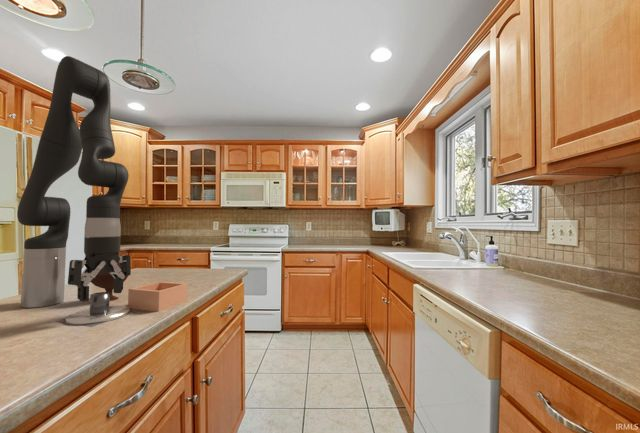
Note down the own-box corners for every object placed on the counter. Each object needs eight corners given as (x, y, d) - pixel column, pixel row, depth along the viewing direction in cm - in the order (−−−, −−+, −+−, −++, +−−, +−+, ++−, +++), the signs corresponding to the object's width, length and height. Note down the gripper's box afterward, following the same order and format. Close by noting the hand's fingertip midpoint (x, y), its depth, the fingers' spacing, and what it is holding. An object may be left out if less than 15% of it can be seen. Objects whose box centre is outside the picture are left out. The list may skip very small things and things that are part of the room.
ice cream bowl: (137, 297, 93) (138, 252, 93) (108, 306, 81) (110, 256, 82) (108, 296, 94) (110, 252, 94) (76, 305, 83) (78, 256, 83)
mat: (55, 323, 67) (55, 321, 67) (105, 309, 79) (105, 307, 79) (91, 329, 64) (92, 326, 64) (138, 313, 76) (138, 311, 76)
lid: (52, 322, 67) (53, 298, 67) (106, 306, 79) (106, 286, 80) (91, 327, 63) (92, 302, 64) (141, 310, 76) (141, 289, 76)
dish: (127, 309, 78) (128, 289, 79) (159, 300, 89) (159, 281, 89) (158, 313, 76) (159, 291, 76) (187, 302, 86) (187, 283, 86)
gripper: (118, 234, 80) (117, 290, 79) (61, 236, 66) (59, 303, 66) (138, 234, 78) (137, 291, 77) (84, 236, 64) (82, 305, 64)
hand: (101, 296), depth 71 cm, fingers open, 8 cm apart
